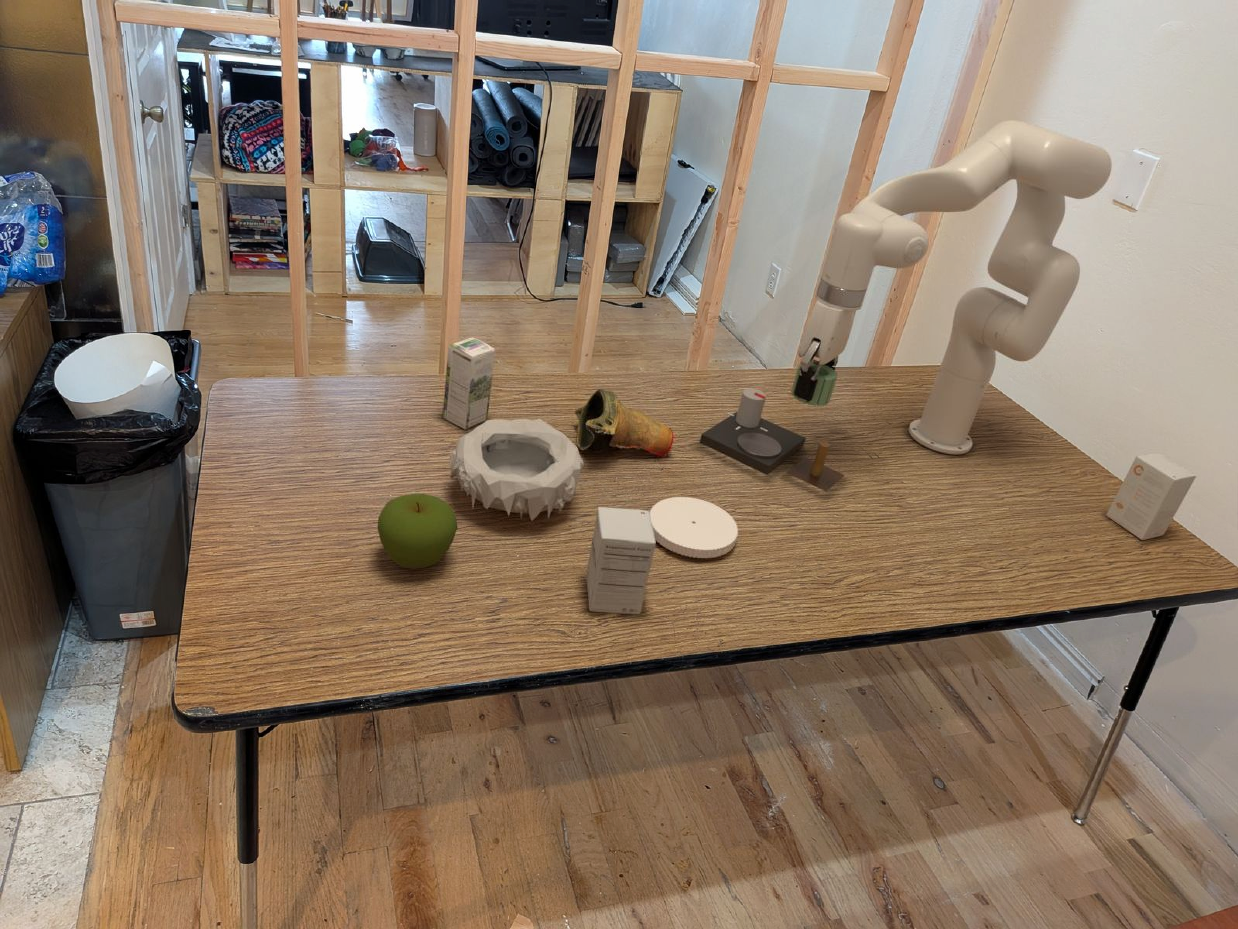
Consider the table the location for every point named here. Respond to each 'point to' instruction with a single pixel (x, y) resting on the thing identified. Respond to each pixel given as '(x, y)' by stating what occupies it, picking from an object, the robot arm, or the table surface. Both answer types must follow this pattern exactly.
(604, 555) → the white packaging box
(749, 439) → the burner
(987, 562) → the table surface
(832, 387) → the ring
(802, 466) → the peg stand
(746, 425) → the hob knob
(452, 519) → the apple
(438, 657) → the table surface
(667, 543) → the plastic lid
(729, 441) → the hob
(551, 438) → the bowl
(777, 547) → the table surface
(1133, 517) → the small box
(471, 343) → the syrup box
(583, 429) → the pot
